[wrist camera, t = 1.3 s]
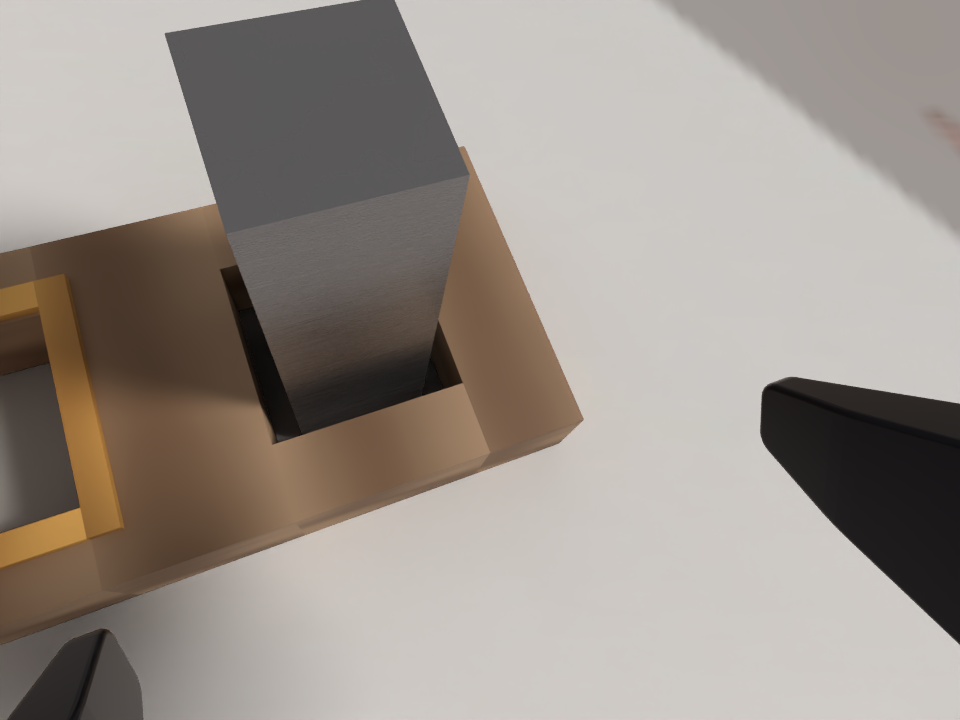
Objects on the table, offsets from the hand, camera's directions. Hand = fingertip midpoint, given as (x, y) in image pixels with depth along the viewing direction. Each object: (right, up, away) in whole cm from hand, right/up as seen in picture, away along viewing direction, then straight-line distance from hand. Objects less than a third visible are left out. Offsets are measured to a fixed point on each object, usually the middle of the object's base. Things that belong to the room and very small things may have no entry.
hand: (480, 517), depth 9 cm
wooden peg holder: (-9, +1, +13) cm, 16 cm away
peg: (-4, +2, +14) cm, 15 cm away
